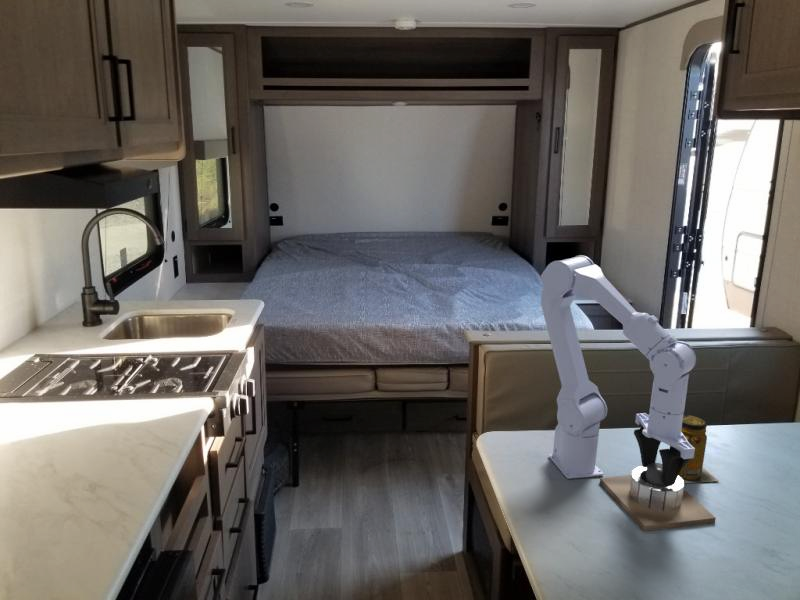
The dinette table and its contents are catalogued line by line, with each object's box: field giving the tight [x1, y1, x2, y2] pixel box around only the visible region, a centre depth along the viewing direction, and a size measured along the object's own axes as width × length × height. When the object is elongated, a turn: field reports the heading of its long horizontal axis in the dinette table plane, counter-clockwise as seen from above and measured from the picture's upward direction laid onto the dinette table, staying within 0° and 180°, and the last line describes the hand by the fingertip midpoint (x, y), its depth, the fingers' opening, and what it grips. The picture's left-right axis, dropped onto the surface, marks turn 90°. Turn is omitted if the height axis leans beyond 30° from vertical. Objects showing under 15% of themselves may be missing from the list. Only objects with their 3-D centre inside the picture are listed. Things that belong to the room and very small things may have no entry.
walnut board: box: [599, 474, 717, 532], centre depth 120 cm, size 16×14×1 cm
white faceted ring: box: [630, 465, 685, 511], centre depth 120 cm, size 9×9×4 cm
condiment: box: [679, 415, 720, 484], centre depth 129 cm, size 7×8×12 cm
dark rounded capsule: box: [645, 462, 668, 487], centre depth 119 cm, size 4×4×6 cm
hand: (658, 474), depth 119 cm, fingers open, 6 cm apart
